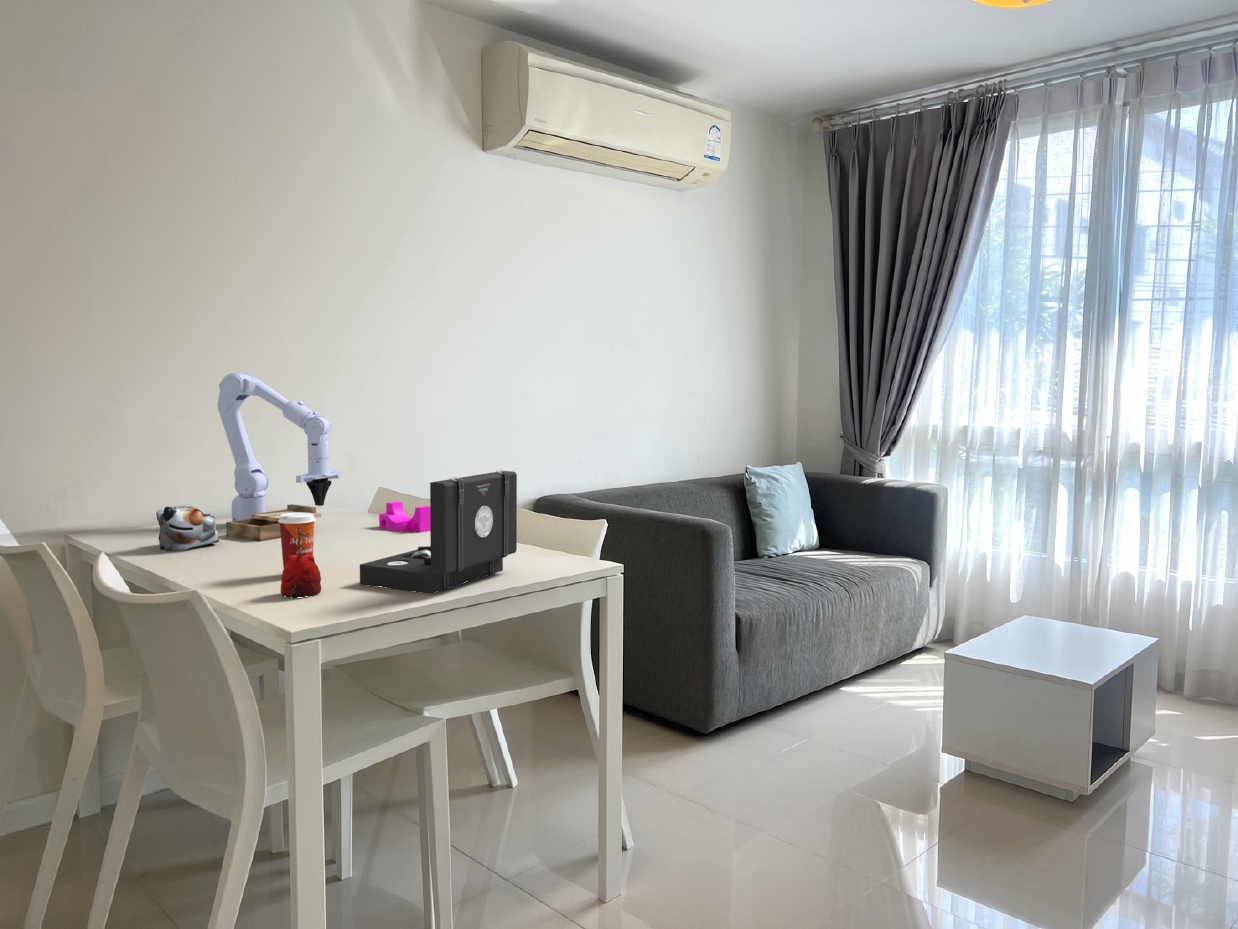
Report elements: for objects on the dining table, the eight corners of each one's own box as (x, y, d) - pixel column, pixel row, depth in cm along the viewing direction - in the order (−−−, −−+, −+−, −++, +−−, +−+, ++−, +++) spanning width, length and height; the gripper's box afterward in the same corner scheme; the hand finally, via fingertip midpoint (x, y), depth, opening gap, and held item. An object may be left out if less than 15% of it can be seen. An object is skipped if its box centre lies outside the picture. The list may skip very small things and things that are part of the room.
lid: (251, 518, 252) (251, 508, 252) (287, 512, 262) (287, 503, 262) (285, 522, 245) (285, 513, 245) (321, 517, 255) (320, 507, 255)
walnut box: (226, 536, 246) (226, 522, 245) (264, 530, 256) (263, 516, 256) (260, 542, 239) (260, 527, 238) (298, 535, 249) (297, 521, 248)
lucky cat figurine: (229, 538, 237) (224, 491, 231) (211, 564, 226) (205, 516, 220) (170, 533, 236) (163, 486, 230) (149, 559, 226) (141, 510, 219)
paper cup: (295, 584, 192) (293, 518, 191) (271, 579, 196) (270, 515, 195) (325, 577, 199) (323, 513, 197) (301, 573, 203) (300, 510, 201)
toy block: (379, 529, 261) (378, 503, 261) (396, 527, 266) (396, 501, 266) (413, 536, 252) (413, 509, 251) (430, 533, 257) (430, 506, 256)
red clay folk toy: (323, 594, 184) (322, 521, 182) (318, 603, 177) (316, 526, 175) (284, 595, 182) (282, 521, 181) (276, 604, 176) (275, 527, 174)
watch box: (416, 565, 214) (416, 461, 212) (518, 578, 202) (518, 468, 200) (338, 587, 191) (336, 471, 189) (448, 603, 179) (447, 480, 177)
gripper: (307, 461, 254) (308, 509, 255) (347, 457, 266) (348, 503, 267) (290, 459, 257) (291, 507, 259) (330, 456, 270) (331, 501, 271)
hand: (319, 505), depth 263 cm, fingers closed
